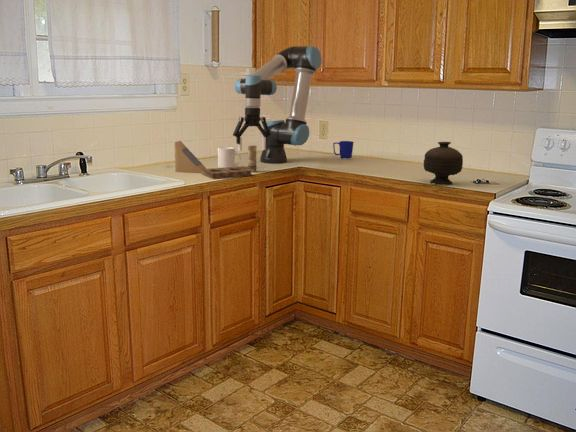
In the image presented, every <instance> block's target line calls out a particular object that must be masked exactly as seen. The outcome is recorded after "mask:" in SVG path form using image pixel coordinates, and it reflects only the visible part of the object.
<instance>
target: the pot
mask: <svg viewBox="0 0 576 432" xmlns="http://www.w3.org/2000/svg"><path fill="white" fill-rule="evenodd" d="M437 144H438V145H439V146H436V147H433V148H430V149H429V150H427V151H426V152H425V154H424V160H423V169H424V170H425V172H428V173H431V174H433V175H435V177H434V178H433V179H431V180H430V182H431V183H430V182H429V183H430V184H432V183H435V184H434V185H437V184H452V185H453V181H451V180H450V179H449V176H455V175H457V174H459V173H461V171H462V169H463V167H464V159H463V154H462V153H461V152H460V151H459V150H458V149H456V148H453V147H450V146H449V145H451V144H452V142H451V141H439V142H437Z"/></svg>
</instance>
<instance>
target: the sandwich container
mask: <svg viewBox="0 0 576 432" xmlns="http://www.w3.org/2000/svg"><path fill="white" fill-rule="evenodd" d="M174 164H175V165H174V168H175V171H174V173H185V174H186V173H187V174H201V169H208V168H207V167H206V166H205V165H204V164H203V162H201V161H200V159H198V158H197V157H196V155H195V154H194V153H193V152H192V151H191V150H190V149H189V148H188V147H187V146H186V145H185V143H183V141H181V140H177V141H174Z"/></svg>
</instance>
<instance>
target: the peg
mask: <svg viewBox="0 0 576 432" xmlns="http://www.w3.org/2000/svg"><path fill="white" fill-rule="evenodd" d="M247 170H250V171H251V173H257V145H247Z"/></svg>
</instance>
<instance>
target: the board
mask: <svg viewBox="0 0 576 432" xmlns="http://www.w3.org/2000/svg"><path fill="white" fill-rule="evenodd" d="M200 174H201V175H203V176H204V177H207V178H209V179H212V180H216V179H217V180H218V179H228V178H229V179H230V178H241V177H251V176H252V172H251V171H250V170H248V168H242V167H241V166H234V167H226V168H218V167H214V168H213V167H212V168H211V167H210V168H207V169H201V173H200Z"/></svg>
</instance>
